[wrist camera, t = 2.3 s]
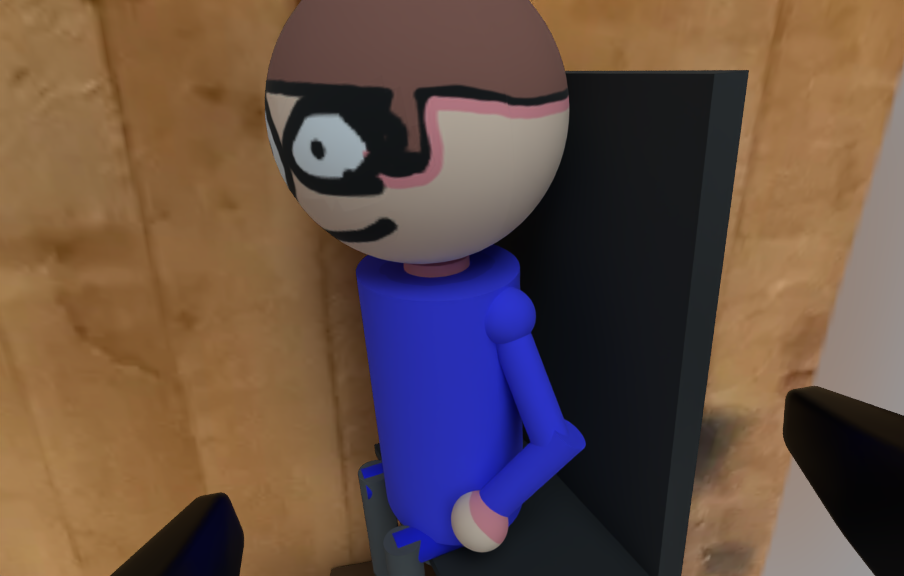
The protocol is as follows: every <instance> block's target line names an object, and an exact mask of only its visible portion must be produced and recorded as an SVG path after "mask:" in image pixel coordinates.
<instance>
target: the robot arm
mask: <svg viewBox="0 0 904 576" xmlns="http://www.w3.org/2000/svg"><path fill="white" fill-rule="evenodd" d="M783 438H784V441H785V444H786V446H787V448H788V450H789V451H790V453H791V454H792V456H793V458H794V459H795V461H796V462H797V464H798V465H799V467H800V468H801V470H802V472H803V473H804V475H805V476H806V478H807V479H808V481H809V482H810V484H811V486H812V487H813V489H814V490H815V492H816V493H817V495H818V497H819V498H820V500H821V501H822V503H823V504H824V506H825V508H826V509H827V511H828V512H829V514H830V516H831V517H832V519H833V520H834V522H835V523H836V525H837V526H838V527H839V529H840V530H841V532H842V533H843V535H844V536H845V537H846V539H847V540H848V541H849V543H850V544H851V545H852V547H853V548H854V549H855V551H856V552H857V553H858V554H859V556H860V557H861V558H862V560H863V561H864V562H865V563H866V565H867V566H868V567H869V569H870V570H871V571H872V572H873V574H874V575H875V576H904V416H902V415H900V414H897V413H894V412H891V411H888V410H885V409H882V408H879V407H876V406H874V405H871V404H868V403H865V402H862V401H859V400H856V399H853V398H850V397H847V396H844V395H842V394H839V393H836V392H833V391H830V390H827V389H824V388H821V387H818V386H810V387H804V388H799V389H793V390H791V391H789V392H788V393H787V395H786V399H785V410H784V423H783ZM243 548H244V534H243V530H242V527H241V525H240V522H239V520H238V517H237V515H236V513H235V510H234V508H233V506H232V503H231V501H230V499H229V497H228V496H227V495H226V494H225V493H222V492H220V493H214V494H209V495H203V496H200V497H198V498H196V499H195V500H194V501H192V502H191V503H190V504H189V505H188V506H187V507H186V508H185V509H184V510H183V511H181V512H180V513H179V514H178V515H177V516H176V517H175V518H174V519H173V520H171V521H170V522H169V523H168V524H167V525H166V526H165V527H164V528H163V529H161V530H160V531H159V532H158V533H157V534H156V535H155V536H154V537H153V538H151V539H150V540H149V541H148V542H147V543H146V544H145V545H144V546H143V547H141V548H140V549H139V550H138V551H137V552H136V553H135V554H134V555H133V556H131V557H130V558H129V559H128V560H127V561H126V562H125V563H124V564H123V565H121V566H120V567H119V568H118V569H117V570H116V571H115V572H114V573H113V574H111V575H110V576H239V574H240V567H241V561H242V554H243Z"/></svg>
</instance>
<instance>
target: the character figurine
mask: <svg viewBox="0 0 904 576" xmlns="http://www.w3.org/2000/svg"><path fill="white" fill-rule="evenodd" d="M748 73H749V70H704V71H565V70H564V66H563V62H562V59H561V56H560V53H559V50H558V47H557V45H556V43H555V41H554V38H553V36H552V34H551V32H550V30H549V29H548V27H547V25H546V23H545V22H544V20H543V19H542V17H541V16H540V14H539V13H538V11H537V10H536V9H535V7H534V6H533V5H532V4H531V2H530V1H529V0H302V1H301V2H300V3H299V5H298V6H297V7H296V8H295V10H294V11H293V12H292V14H291V16H290V17H289V19H288V20H287V22H286V23H285V25H284V27H283V29H282V31H281V33H280V35H279V38H278V40H277V42H276V45H275V48H274V50H273V53H272V57H271V60H270V64H269V68H268V74H267V80H266V90H265V119H266V125H267V132H268V138H269V142H270V145H271V149H272V153H273V156H274V159H275V161H276V164H277V166H278V168H279V171H280V173H281V175H282V177H283V179H284V181H285V182H286V184H287V186H288V188H289V190H290V191H291V193H292V194H293V195H294V197H295V198H296V200H297V201H298V202H299V204H300V205H301V207H302V208H303V209H304V210H305V211H306V212H307V213H308V215H309V216H310V217H311V218H312V219H313V220H314V221H315V222H316V223H317V224H319V225H320V226H321V227H322V228H323V229H324V230H326V231H327V232H328V233H330V234H331V235H332V236H334V237H335V238H336V239H338V240H340V241H341V242H343V243H344V244H346V245H348V246H350V247H352V248H354V249H356V250H358V251H360V252H363V253H365V254H368V255H367V256H366V257H364V258H363V259H362V260H361V261H360V263H359V264H358V266H357V268H356V277H357V284H358V291H359V298H360V305H361V313H362V320H363V327H364V334H365V341H366V349H367V356H368V363H369V370H370V377H371V385H372V392H373V399H374V406H375V413H376V421H377V428H378V435H379V442H380V443H378V444H375V445H374V446H375V453H376V456H377V458H378V460H374V461H370V462H367V463H365V464H364V465H362V466H361V467H360V469H359V471H358V477H359V483H360V489H361V495H362V502H363V508H364V514H365V520H366V526H367V532H368V539H369V545H370V551H371V557H372V563H373V572H374V574H375V576H425V570H424V562H425V563H426V564H428V565H431V566H432V568H433V570H434V572H435V574H436V576H681V573H682V565H683V558H684V550H685V543H686V535H687V528H688V520H689V513H690V505H691V498H692V491H693V483H694V476H695V468H696V461H697V453H698V446H699V438H700V431H701V423H702V416H703V408H704V401H705V394H706V386H707V379H708V371H709V364H710V356H711V349H712V341H713V334H714V326H715V319H716V311H717V304H718V296H719V289H720V282H721V274H722V267H723V259H724V252H725V244H726V237H727V229H728V222H729V214H730V207H731V199H732V192H733V184H734V177H735V170H736V162H737V155H738V147H739V140H740V132H741V125H742V117H743V110H744V102H745V95H746V87H747V80H748ZM397 519H398V520H399V521H400V524H401V526H398V522H397Z"/></svg>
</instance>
